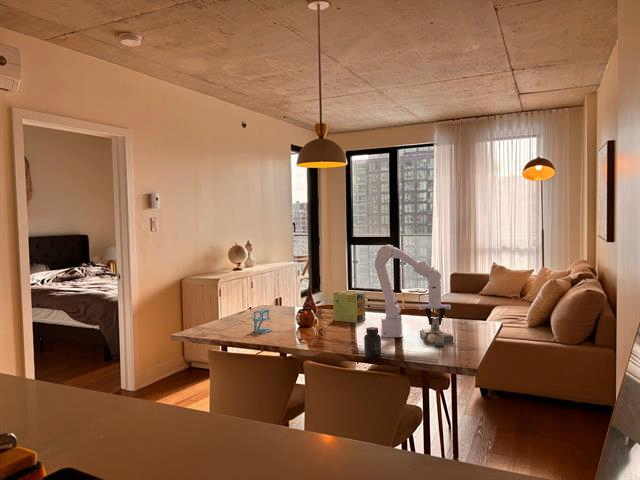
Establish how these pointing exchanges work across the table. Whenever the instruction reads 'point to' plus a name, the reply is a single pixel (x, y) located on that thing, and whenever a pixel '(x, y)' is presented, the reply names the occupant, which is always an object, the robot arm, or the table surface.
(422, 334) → the scale
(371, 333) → the supplement bottle
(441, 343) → the cylinder
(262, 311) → the teal open frame stand
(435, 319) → the cylinder
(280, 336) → the table surface
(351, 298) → the protein box
